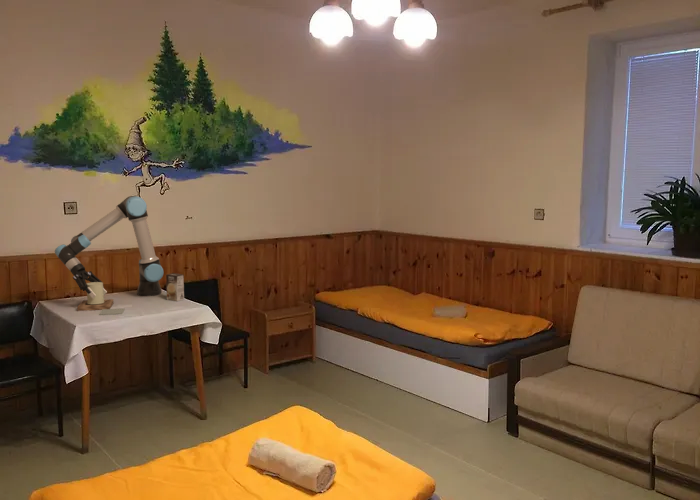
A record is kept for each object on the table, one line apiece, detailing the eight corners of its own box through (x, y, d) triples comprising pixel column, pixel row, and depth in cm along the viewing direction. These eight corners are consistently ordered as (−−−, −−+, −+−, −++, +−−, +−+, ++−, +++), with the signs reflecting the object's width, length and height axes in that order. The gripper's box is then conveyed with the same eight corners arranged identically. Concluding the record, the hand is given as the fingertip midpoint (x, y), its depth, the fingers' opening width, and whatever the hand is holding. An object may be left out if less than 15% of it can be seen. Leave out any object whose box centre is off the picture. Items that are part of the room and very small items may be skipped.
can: (98, 304, 355) (97, 284, 354) (83, 304, 357) (82, 283, 355) (107, 301, 364) (106, 281, 363) (93, 300, 366) (92, 280, 364)
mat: (124, 309, 355) (124, 308, 355) (121, 314, 344) (121, 313, 343) (102, 310, 352) (102, 309, 352) (99, 315, 341) (98, 314, 341)
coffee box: (166, 299, 382) (165, 274, 380) (173, 298, 388) (172, 272, 386) (177, 301, 378) (176, 275, 376) (184, 299, 384) (184, 274, 382)
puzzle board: (113, 303, 371) (113, 299, 371) (109, 309, 355) (109, 305, 354) (83, 304, 367) (83, 300, 367) (77, 310, 351) (77, 306, 350)
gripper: (85, 268, 373) (108, 295, 370) (58, 274, 352) (83, 303, 350) (91, 260, 371) (115, 287, 368) (65, 265, 350) (90, 294, 348)
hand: (100, 295), depth 359 cm, fingers closed on can, 9 cm apart
